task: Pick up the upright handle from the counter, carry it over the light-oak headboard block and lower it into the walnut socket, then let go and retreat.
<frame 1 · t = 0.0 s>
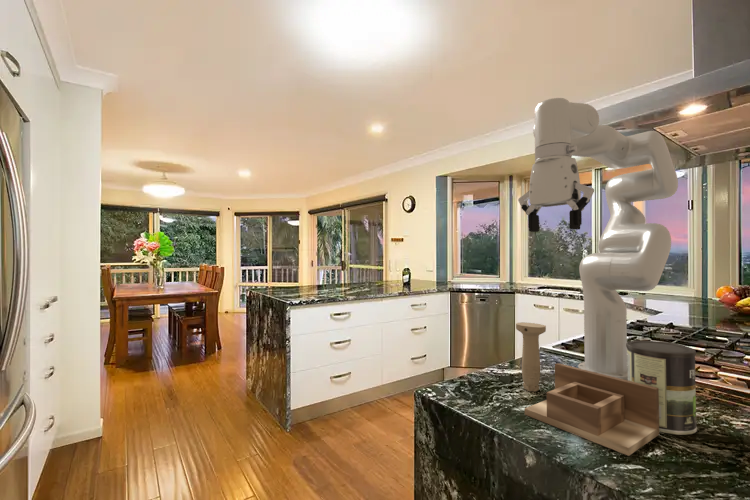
hand: (553, 230, 84), 37 cm above the counter, tool pointing down, fingers open, 9 cm apart
coffee can: (660, 423, 69), on the counter
handle: (531, 390, 85), on the counter
headboard block: (587, 423, 68), on the counter
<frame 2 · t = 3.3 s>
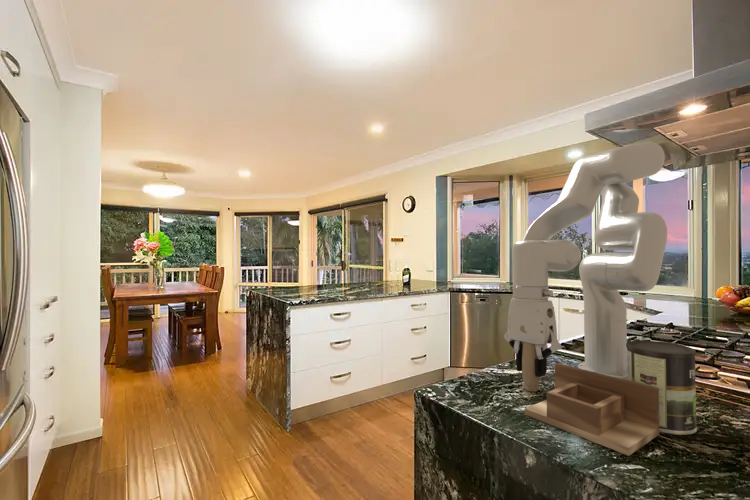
hand: (530, 372, 85), 4 cm above the counter, tool pointing down, fingers closed on handle, 4 cm apart
handle: (531, 390, 85), on the counter, touching gripper
everything else where it was.
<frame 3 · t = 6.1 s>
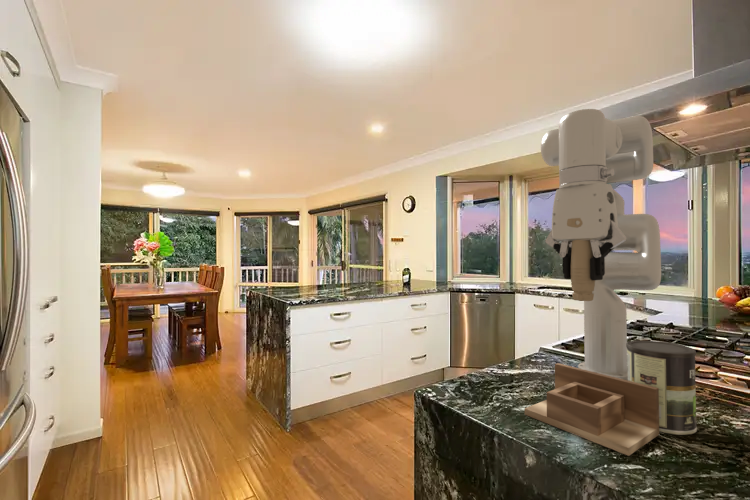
hand: (583, 278, 68), 27 cm above the counter, tool pointing down, fingers closed on handle, 4 cm apart
handle: (583, 301, 68), point 23 cm above the counter, touching gripper
everything else where it was.
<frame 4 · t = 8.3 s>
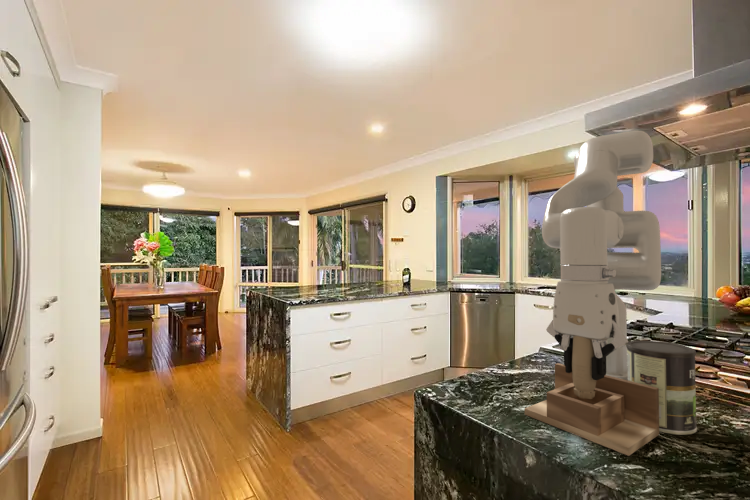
hand: (584, 373, 67), 9 cm above the counter, tool pointing down, fingers closed on handle, 4 cm apart
handle: (584, 397, 67), point 5 cm above the counter, touching gripper
everything else where it was.
when the fingers open (7 cm above the counter, at t = 9.1 s): handle drops 2 cm, resting on headboard block.
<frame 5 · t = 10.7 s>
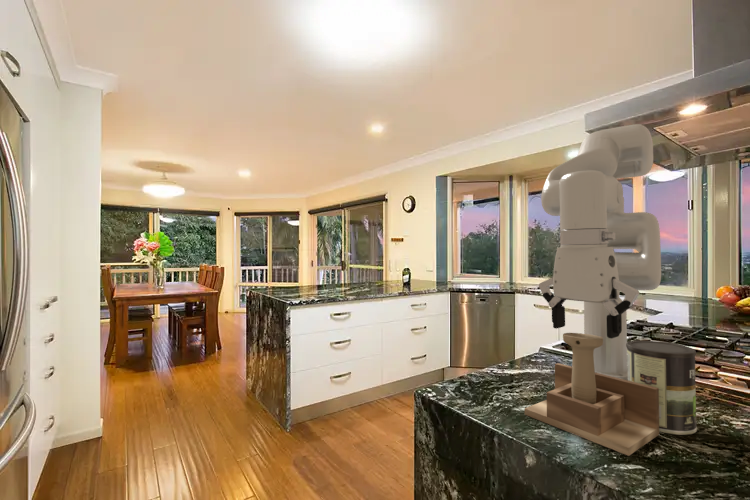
hand: (584, 331, 68), 17 cm above the counter, tool pointing down, fingers open, 9 cm apart
handle: (584, 419, 68), point 1 cm above the counter, touching headboard block
everything else where it was.
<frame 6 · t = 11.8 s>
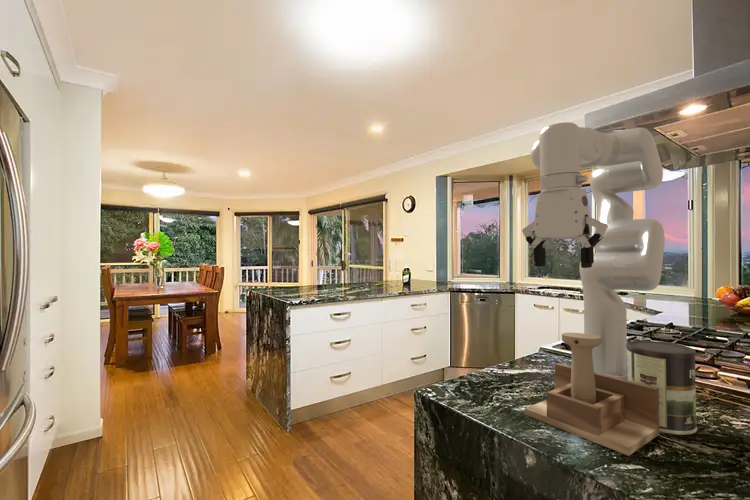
hand: (562, 266, 77), 29 cm above the counter, tool pointing down, fingers open, 9 cm apart
nothing on the counter moved.
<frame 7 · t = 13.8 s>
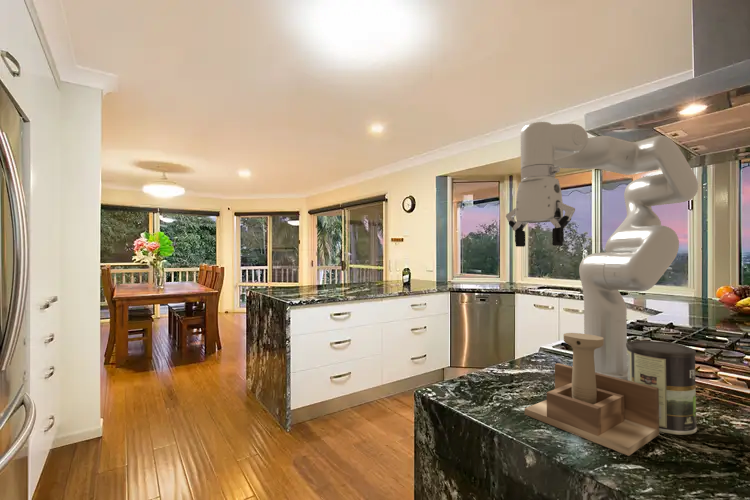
hand: (538, 246, 89), 33 cm above the counter, tool pointing down, fingers open, 9 cm apart
nothing on the counter moved.
at the end: handle 0.1 cm from the target spot on the headboard block, point 1.0 cm above the headboard block's base; handle tilted 0°; the gripper is holding nothing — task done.
